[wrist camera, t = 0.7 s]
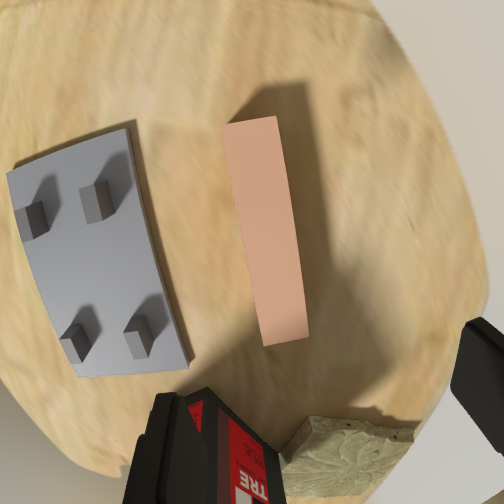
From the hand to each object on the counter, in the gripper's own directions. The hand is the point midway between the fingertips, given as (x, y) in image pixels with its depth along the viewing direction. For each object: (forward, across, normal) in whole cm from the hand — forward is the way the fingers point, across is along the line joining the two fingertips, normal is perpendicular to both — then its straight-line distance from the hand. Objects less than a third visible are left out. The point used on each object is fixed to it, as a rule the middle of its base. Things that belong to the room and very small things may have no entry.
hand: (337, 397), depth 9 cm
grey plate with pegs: (+20, +17, 0) cm, 27 cm away
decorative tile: (+21, -6, +36) cm, 43 cm away
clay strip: (+21, 0, 0) cm, 21 cm away
